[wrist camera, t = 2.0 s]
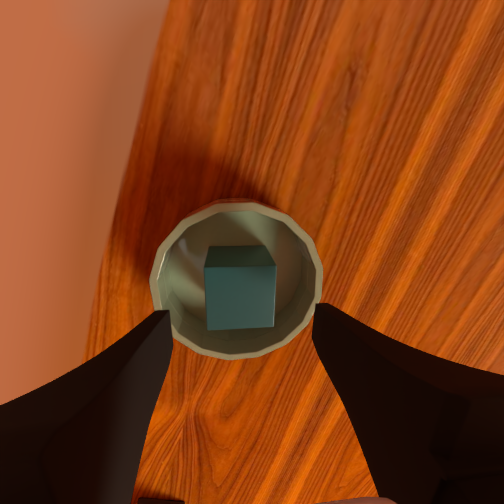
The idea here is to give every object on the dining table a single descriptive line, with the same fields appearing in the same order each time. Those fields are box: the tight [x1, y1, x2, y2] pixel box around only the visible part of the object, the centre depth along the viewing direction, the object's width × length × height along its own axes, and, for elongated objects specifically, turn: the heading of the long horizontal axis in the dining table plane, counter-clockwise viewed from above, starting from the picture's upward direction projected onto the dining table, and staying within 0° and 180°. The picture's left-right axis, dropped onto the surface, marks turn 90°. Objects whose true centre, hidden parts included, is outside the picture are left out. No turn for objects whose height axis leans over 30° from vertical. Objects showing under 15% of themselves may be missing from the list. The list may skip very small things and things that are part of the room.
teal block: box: [203, 245, 277, 330], centre depth 16 cm, size 4×4×4 cm
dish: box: [149, 198, 323, 360], centre depth 17 cm, size 11×11×4 cm
